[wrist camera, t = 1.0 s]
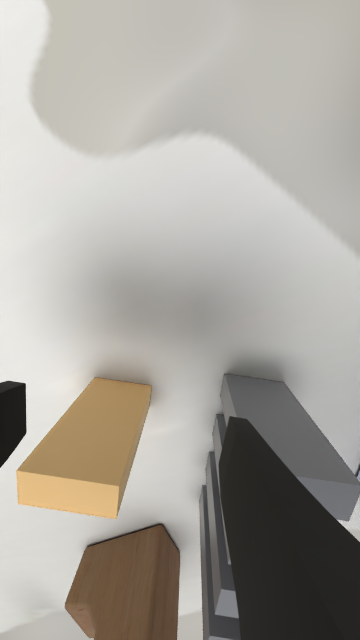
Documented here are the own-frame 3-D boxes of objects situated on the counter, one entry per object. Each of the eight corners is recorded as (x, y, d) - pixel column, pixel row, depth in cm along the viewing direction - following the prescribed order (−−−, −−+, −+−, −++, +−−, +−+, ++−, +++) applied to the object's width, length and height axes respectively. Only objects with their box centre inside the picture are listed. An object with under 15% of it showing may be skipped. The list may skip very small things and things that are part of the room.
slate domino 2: (254, 493, 22) (296, 649, 13) (249, 509, 22) (287, 671, 13) (202, 485, 22) (209, 635, 13) (199, 501, 22) (203, 657, 13)
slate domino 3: (283, 382, 19) (363, 486, 10) (277, 404, 19) (348, 521, 11) (224, 373, 19) (251, 469, 10) (220, 395, 19) (242, 504, 11)
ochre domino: (151, 385, 19) (119, 486, 11) (149, 406, 20) (116, 519, 11) (94, 377, 20) (16, 470, 11) (93, 398, 20) (18, 504, 11)
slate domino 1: (263, 459, 21) (314, 604, 12) (258, 477, 21) (304, 629, 12) (209, 451, 21) (221, 589, 12) (205, 469, 21) (214, 614, 13)
